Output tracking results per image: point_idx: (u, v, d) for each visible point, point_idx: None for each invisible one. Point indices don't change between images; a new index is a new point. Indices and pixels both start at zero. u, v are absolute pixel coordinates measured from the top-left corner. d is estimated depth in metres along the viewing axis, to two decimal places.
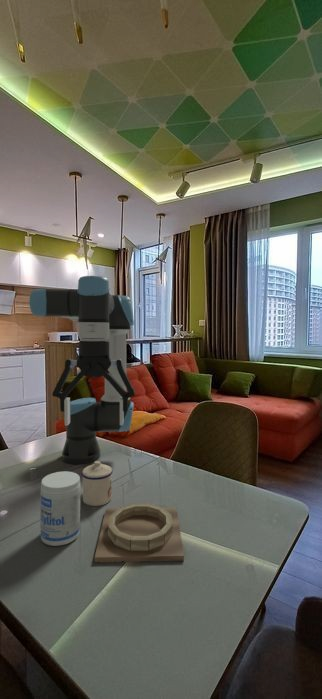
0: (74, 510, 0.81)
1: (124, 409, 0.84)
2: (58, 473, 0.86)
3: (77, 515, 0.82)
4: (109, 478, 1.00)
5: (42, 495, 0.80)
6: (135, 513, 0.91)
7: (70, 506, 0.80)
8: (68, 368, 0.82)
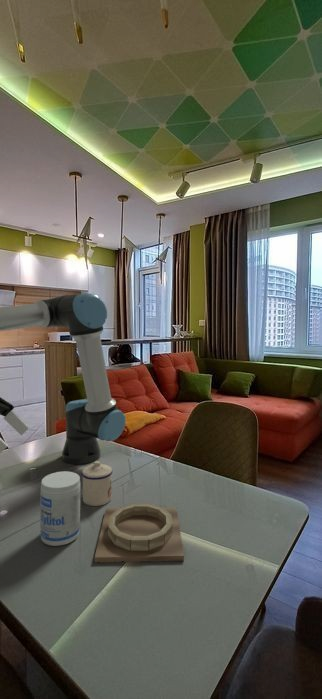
0: (74, 510, 0.81)
1: None
2: (58, 473, 0.86)
3: (77, 515, 0.82)
4: (109, 478, 1.00)
5: (42, 495, 0.80)
6: (135, 513, 0.91)
7: (70, 506, 0.80)
8: None
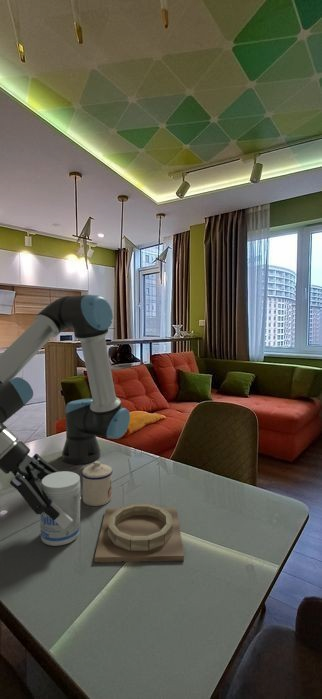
0: (74, 510, 0.81)
1: None
2: (58, 473, 0.86)
3: (77, 515, 0.82)
4: (109, 478, 1.00)
5: None
6: (135, 513, 0.91)
7: (70, 505, 0.80)
8: None
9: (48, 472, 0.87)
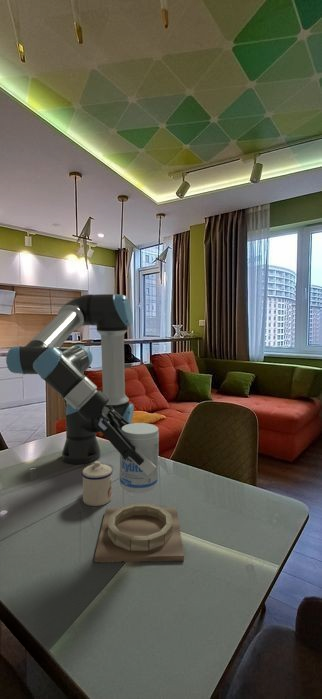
0: (155, 458, 0.81)
1: None
2: (134, 424, 0.86)
3: (157, 464, 0.82)
4: (109, 478, 1.00)
5: None
6: (135, 513, 0.91)
7: (152, 453, 0.80)
8: None
9: (124, 423, 0.86)
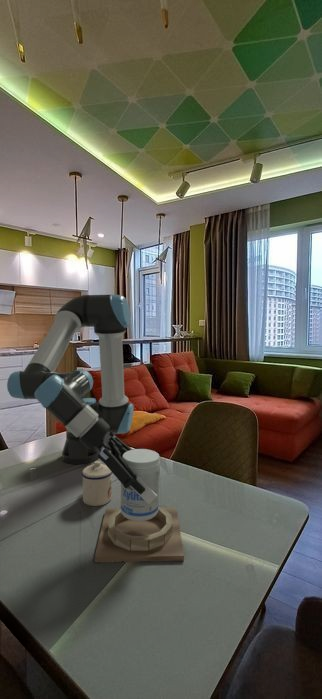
0: (156, 486, 0.81)
1: None
2: (135, 450, 0.86)
3: (158, 491, 0.82)
4: (109, 478, 1.00)
5: None
6: None
7: (153, 481, 0.80)
8: None
9: (125, 449, 0.87)
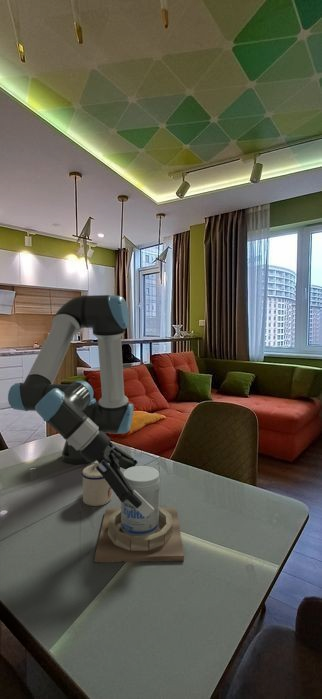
0: (156, 504, 0.82)
1: None
2: (135, 467, 0.87)
3: (158, 509, 0.83)
4: None
5: None
6: None
7: (153, 499, 0.81)
8: None
9: (124, 458, 0.88)
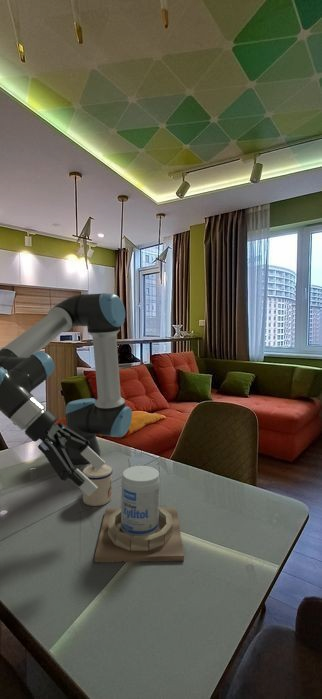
0: (156, 504, 0.82)
1: None
2: (135, 467, 0.87)
3: (158, 509, 0.83)
4: (109, 478, 1.00)
5: (125, 488, 0.81)
6: None
7: (153, 499, 0.81)
8: None
9: (74, 439, 0.87)
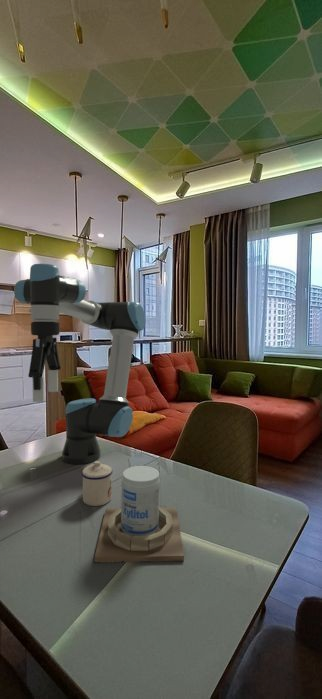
0: (156, 504, 0.82)
1: None
2: (135, 467, 0.87)
3: (158, 509, 0.83)
4: (109, 478, 1.00)
5: (125, 489, 0.81)
6: None
7: (153, 499, 0.81)
8: None
9: (54, 357, 0.98)
